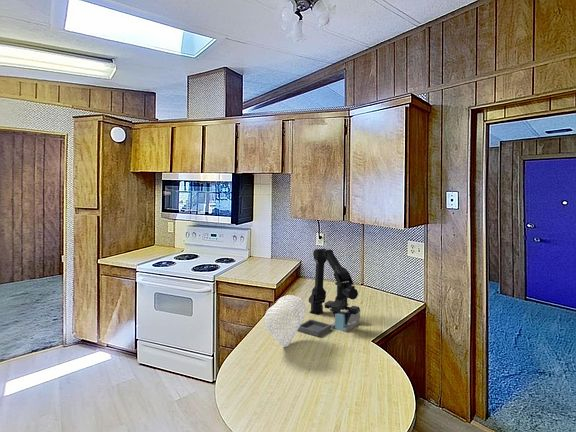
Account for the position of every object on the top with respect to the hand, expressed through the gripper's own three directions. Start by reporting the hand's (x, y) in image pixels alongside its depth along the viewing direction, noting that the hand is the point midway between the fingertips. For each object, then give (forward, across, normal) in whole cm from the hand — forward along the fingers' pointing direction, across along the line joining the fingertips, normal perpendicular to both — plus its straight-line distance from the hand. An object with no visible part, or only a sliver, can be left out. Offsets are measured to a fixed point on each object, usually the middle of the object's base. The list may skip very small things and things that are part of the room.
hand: (341, 323), depth 185 cm
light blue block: (+3, 0, 0) cm, 3 cm away
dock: (+3, 0, +5) cm, 6 cm away
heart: (+3, -10, -37) cm, 38 cm away
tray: (+3, -10, -12) cm, 16 cm away
